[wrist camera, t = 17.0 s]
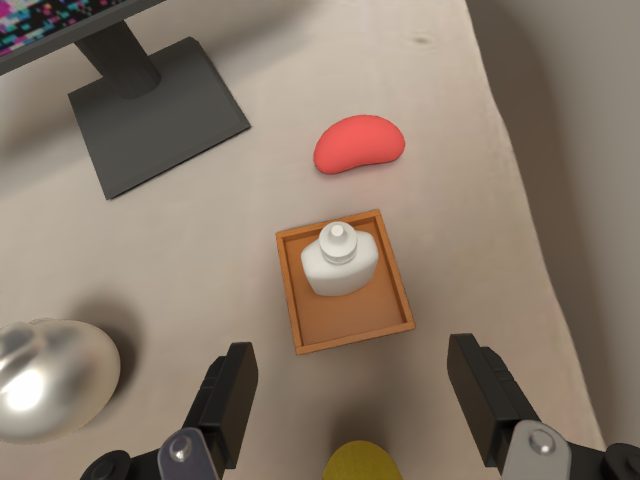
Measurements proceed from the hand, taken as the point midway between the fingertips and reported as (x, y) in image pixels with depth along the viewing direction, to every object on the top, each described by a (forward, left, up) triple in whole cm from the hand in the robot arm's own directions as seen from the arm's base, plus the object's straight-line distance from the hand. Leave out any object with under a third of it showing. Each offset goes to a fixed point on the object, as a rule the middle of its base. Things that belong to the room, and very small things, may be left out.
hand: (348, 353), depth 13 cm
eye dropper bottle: (+7, -1, -15) cm, 17 cm away
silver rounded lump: (+3, +23, -16) cm, 28 cm away
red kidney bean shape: (+19, -6, -16) cm, 26 cm away
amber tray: (+6, -1, -16) cm, 17 cm away
